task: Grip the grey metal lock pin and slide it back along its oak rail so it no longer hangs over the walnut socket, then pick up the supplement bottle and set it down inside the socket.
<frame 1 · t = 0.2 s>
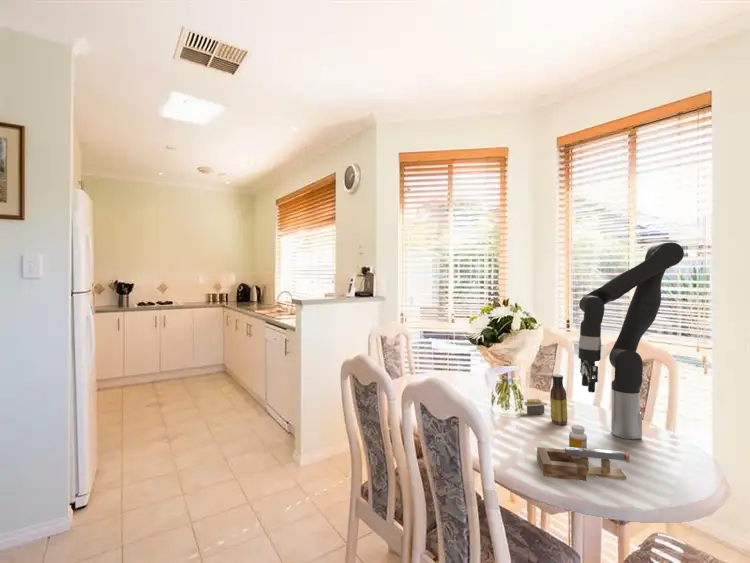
hand: (588, 388, 155), 17 cm above the table, tool pointing down, fingers open, 8 cm apart
pin mount: (602, 473, 124), on the table
supplement bottle: (577, 455, 136), on the table
socket: (560, 469, 127), on the table
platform: (534, 414, 177), on the table
sauce bottle: (558, 423, 166), on the table
pin: (595, 453, 124), point 6 cm above the table, slide at 0.0 cm
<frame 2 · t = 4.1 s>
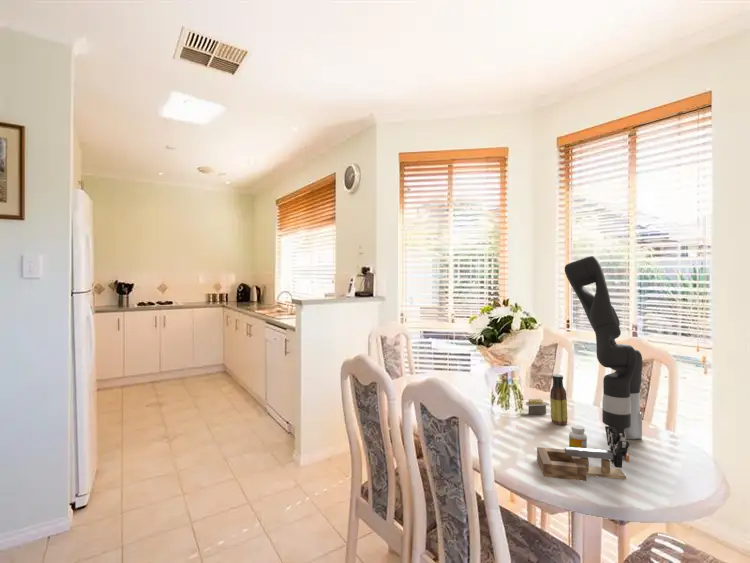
hand: (616, 464, 123), 3 cm above the table, tool pointing down, fingers closed on pin, 2 cm apart
pin: (595, 453, 124), point 6 cm above the table, slide at 0.0 cm, touching gripper
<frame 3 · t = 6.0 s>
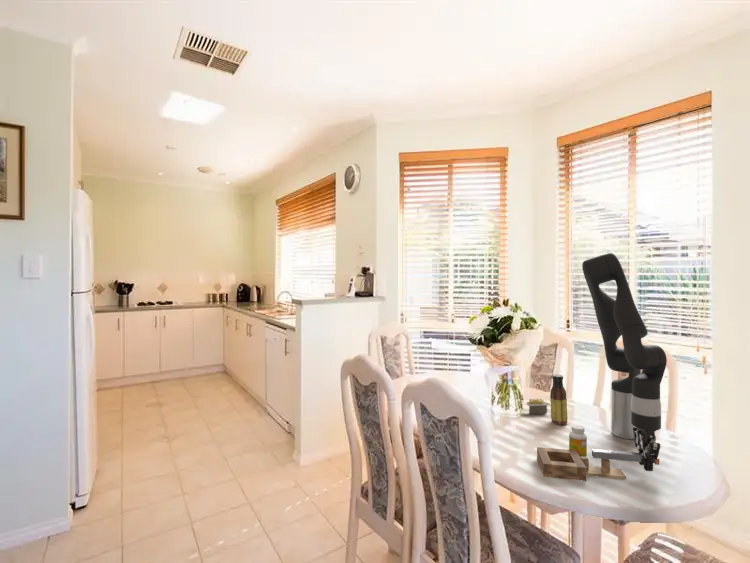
hand: (645, 467, 121), 3 cm above the table, tool pointing down, fingers open, 3 cm apart
pin: (624, 456, 122), point 6 cm above the table, slide at 7.9 cm
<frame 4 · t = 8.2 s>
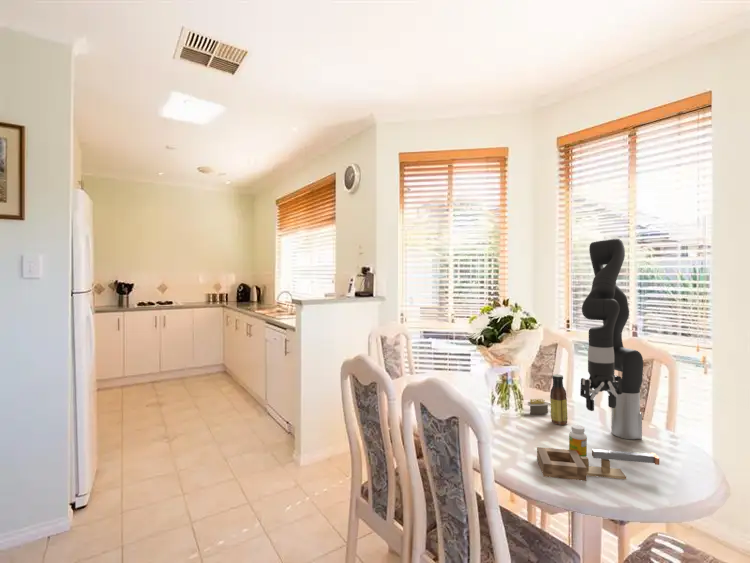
hand: (601, 408, 131), 18 cm above the table, tool pointing down, fingers open, 8 cm apart
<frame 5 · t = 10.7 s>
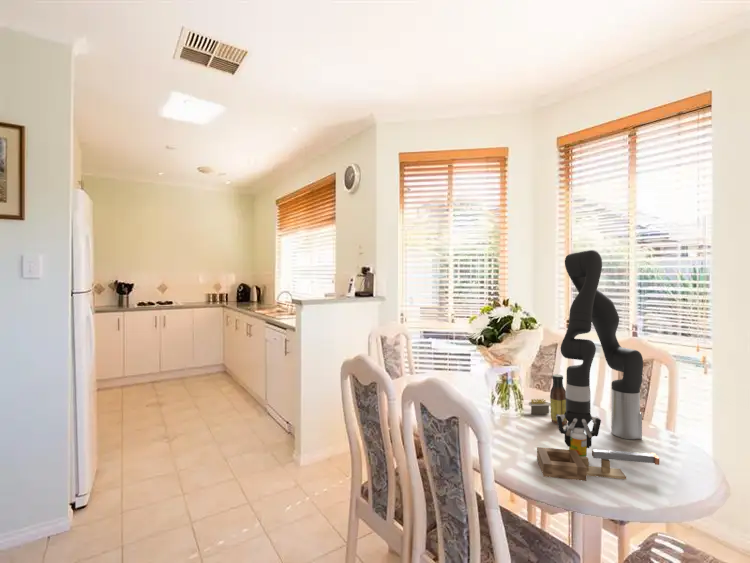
hand: (577, 446, 136), 3 cm above the table, tool pointing down, fingers closed on supplement bottle, 5 cm apart
supplement bottle: (577, 455, 136), on the table, touching gripper
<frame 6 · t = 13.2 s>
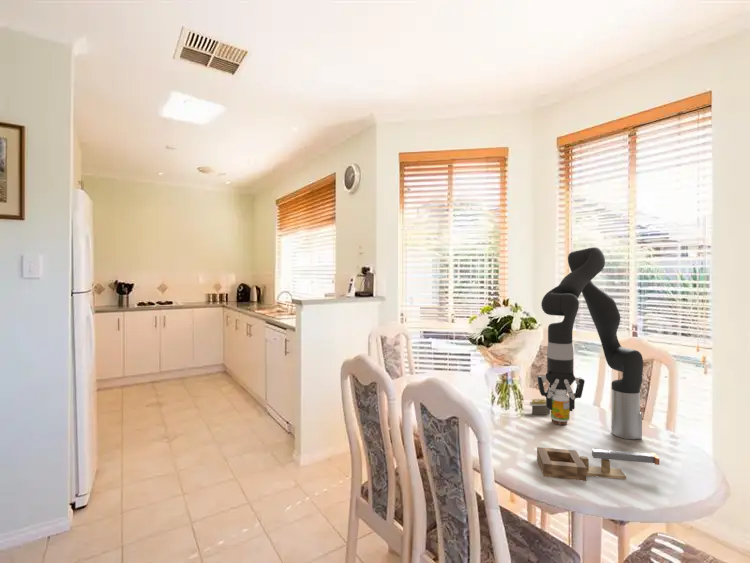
hand: (560, 409, 126), 19 cm above the table, tool pointing down, fingers closed on supplement bottle, 5 cm apart
supplement bottle: (560, 419, 126), point 16 cm above the table, touching gripper
when the fingers open (5 cm above the table, at t = 16.1 s): supplement bottle drops 1 cm, resting on socket.
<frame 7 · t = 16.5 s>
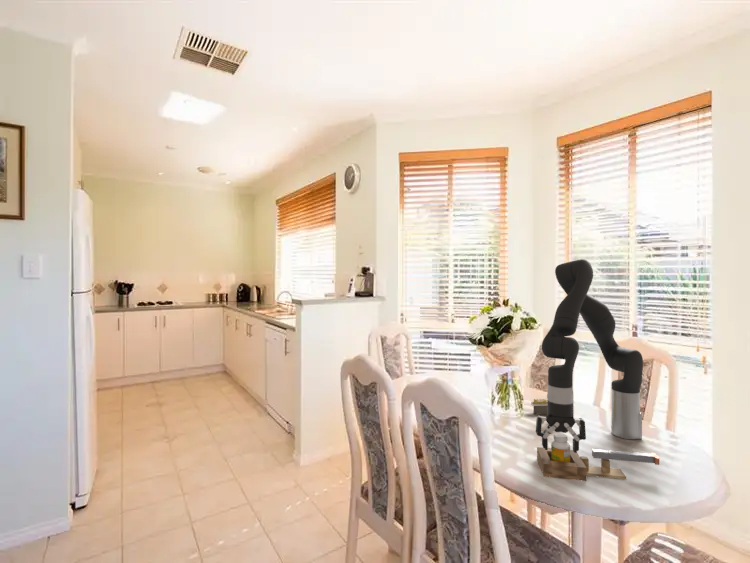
hand: (560, 450, 127), 6 cm above the table, tool pointing down, fingers open, 8 cm apart
supplement bottle: (560, 466, 127), point 1 cm above the table, touching socket
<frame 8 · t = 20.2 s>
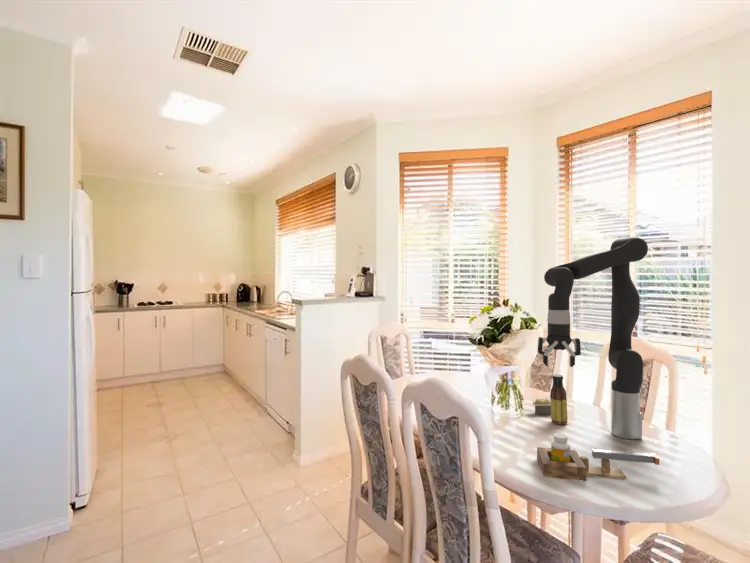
hand: (558, 366, 147), 28 cm above the table, tool pointing down, fingers open, 8 cm apart
at the end: pin slide at 7.9 cm; supplement bottle 0.1 cm off-centre on the socket, point 0.8 cm above the socket's base; supplement bottle tilted 0° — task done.
